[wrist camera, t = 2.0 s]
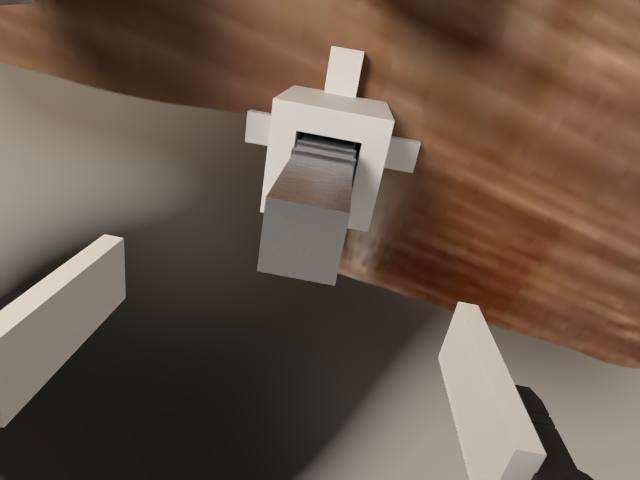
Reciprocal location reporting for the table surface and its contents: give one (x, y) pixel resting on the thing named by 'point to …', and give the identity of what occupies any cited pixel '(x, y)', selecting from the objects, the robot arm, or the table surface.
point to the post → (309, 211)
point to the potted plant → (15, 2)
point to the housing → (335, 131)
